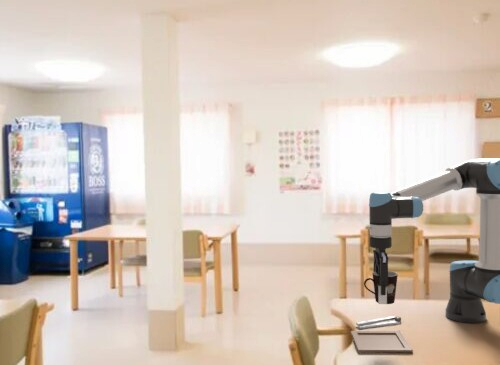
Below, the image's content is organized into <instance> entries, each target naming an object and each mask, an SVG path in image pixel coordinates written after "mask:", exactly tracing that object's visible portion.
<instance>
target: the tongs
mask: <svg viewBox="0 0 500 365" xmlns="http://www.w3.org/2000/svg"><path fill="white" fill-rule="evenodd" d="M401 323H402V318H401V317H400V316H394V315H392V316H391V315H390V316H386V317H379V318H374V319H368V320H363V321H362V320H361V321H358V322H355V325H356V326H357V328H358V329H360V330H364V329H371V328H379V327H386V326H395V325H401Z"/></svg>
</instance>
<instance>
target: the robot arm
mask: <svg viewBox="0 0 500 365" xmlns="http://www.w3.org/2000/svg"><path fill="white" fill-rule="evenodd" d="M463 189H476V191H475V192H476V195H477V196H478V197H479V198H480V202H479V203H480V205H479V206H480V207H479V209H480V210H479V245H478V246H479V247H478V260H457V261H456V260H455V261H452V262H451V263H450V264H449V265H450V266H449V271H448V272H449V299H448V302H447V305H446V307H445V316H446V317H447V318H448V319H449V320H451V321H455V322H459V323H460V322H461V323H466V324H467V323H470V324H478V323H483V322H486V320H487V311H486V309H485V307H484V303H483V301H482V300H484V301H486V302H487V303H492V304H495V305H500V158H499V157H494V158H491V157H490V158H488V157H486V158H478V157H477V158H471V159H468V160H466V161H463V162H460V163H458V164H454V165H453V166H449V167H448V168H446V169H445V171H444V172H441V173H439V174H436V175H434V176H431V177H428V178H426V179H422V180H419V181H418V182H417V181H416V182H415V183H412V184H409V185H406V186H405V187H402V188H399V189H396V190H394V191H391V192H386V191H378V192H377V191H374V192H373V191H372V192H371V193H370V195H369V202H368V203H369V204H368V206H369V210H368V211H369V215H368V217H369V226H368V227H367V230H369V235H370V236H369V247H370V248H372V249H373V267H372V268H373V269H372V270H373V272H374V271H376V273H377V274H378V275H379V284H377V286H378V303H377V304H379V305H388V304H387V288H386V286H387V285H388V284H389V283H388V271H389V256H388V253H387V252H386V250H387V249H390V248H391V247H392V244H393V243H392V239H393V238H392V237H391V236H392V234H393V231H392V230H393V229H392V228H393V227H392V225H393V224H392V223H393V222H392V220H395V219H414V218H419V217H421V216H422V214H423V213H424V203H423V202H424V201H427V200H429V199H432V198H434V197H436V196H440V195H441V194H445V193H448V192H450V191H452V190H453V191H460V190H463ZM373 272H372V273H373Z"/></svg>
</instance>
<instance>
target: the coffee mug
mask: <svg viewBox="0 0 500 365" xmlns="http://www.w3.org/2000/svg"><path fill="white" fill-rule="evenodd" d="M371 273H372V278H371V277H368V278H366V279H365V280H364V282H363V286H364V288H365V289H366V290H367V291H368V292H370V293H371V294H373V295H374V298H375V302H376V303H377V304H379V303H378V286H377V284H379V275H378V274H377V273H376V271H374V272H371ZM398 275H399V274H398V272H395V271H391V270H388V283H389V284H388V285H387V286H386V288H387V304H386V305H392V304H394V303H395V300H396V291H397V290H396V289H397V282H398ZM368 281H372V283H373V290H374V291H373V290H371V289H370V288H368V286H367V282H368Z"/></svg>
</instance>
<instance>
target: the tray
mask: <svg viewBox="0 0 500 365" xmlns="http://www.w3.org/2000/svg"><path fill="white" fill-rule="evenodd" d="M350 335H351V338H352V340H353V342H354V345H355V348H356V350H357V353H358V354H390V355H391V354H396V355H397V354H399V355H401V354H407V355H408V354H413V353H414V350H413V348H412V347H411V345H410V344H409V342H408V340H406V337H404V334H402V331H401V330H350Z"/></svg>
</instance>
